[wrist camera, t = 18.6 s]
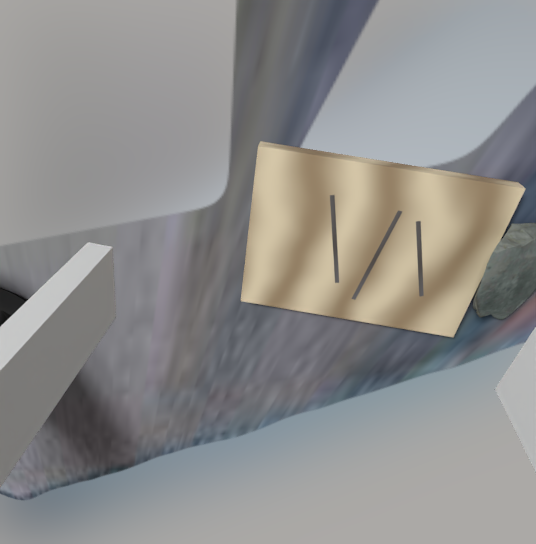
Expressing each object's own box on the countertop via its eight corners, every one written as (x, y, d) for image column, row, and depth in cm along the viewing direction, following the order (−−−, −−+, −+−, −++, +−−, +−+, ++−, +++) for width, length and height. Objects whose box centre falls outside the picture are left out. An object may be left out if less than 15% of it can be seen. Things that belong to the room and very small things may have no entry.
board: (243, 292, 43) (240, 301, 42) (260, 141, 35) (258, 146, 34) (449, 327, 43) (453, 337, 42) (518, 182, 34) (525, 188, 33)
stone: (435, 334, 38) (495, 300, 43) (473, 360, 36) (533, 321, 40) (470, 233, 32) (535, 207, 37) (519, 256, 30) (582, 224, 34)
